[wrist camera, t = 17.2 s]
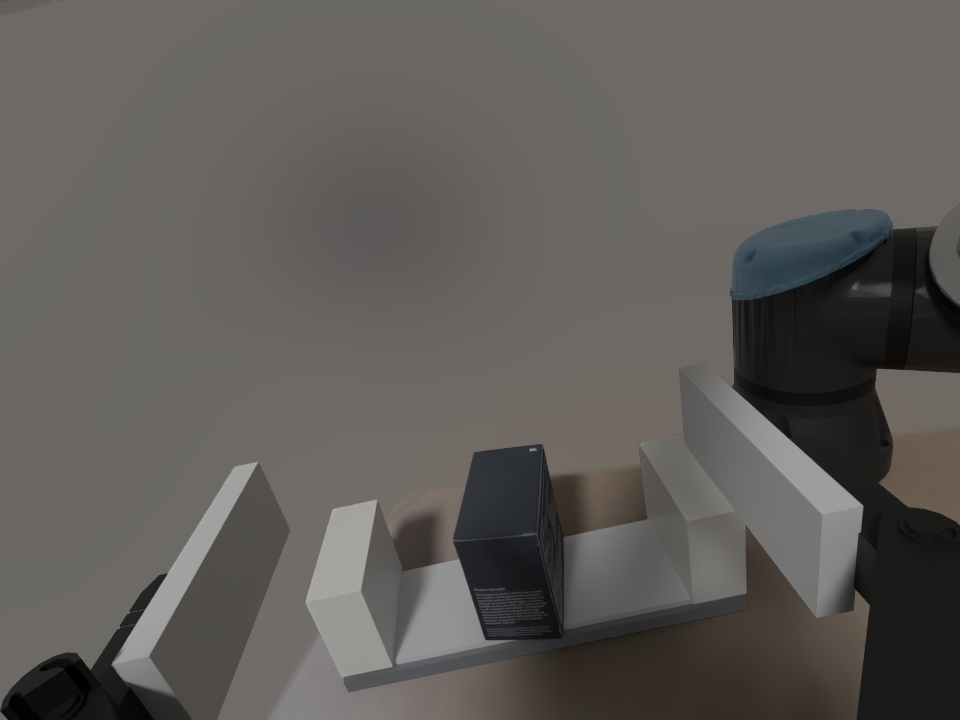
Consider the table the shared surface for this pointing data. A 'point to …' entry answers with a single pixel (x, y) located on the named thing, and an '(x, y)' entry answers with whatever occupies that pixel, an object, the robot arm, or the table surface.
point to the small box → (512, 545)
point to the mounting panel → (587, 605)
